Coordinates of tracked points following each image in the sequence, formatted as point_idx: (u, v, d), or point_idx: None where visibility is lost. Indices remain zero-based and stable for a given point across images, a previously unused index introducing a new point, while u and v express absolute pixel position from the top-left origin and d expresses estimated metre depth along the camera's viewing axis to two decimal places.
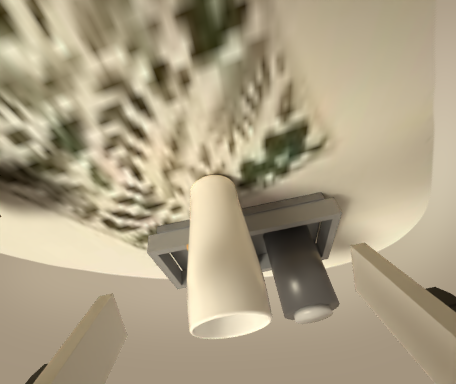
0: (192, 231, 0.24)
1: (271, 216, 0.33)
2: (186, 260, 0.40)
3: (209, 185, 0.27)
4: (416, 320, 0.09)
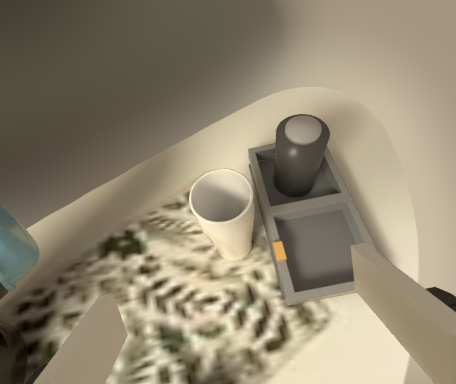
0: (216, 245, 0.32)
1: (259, 195, 0.41)
2: (344, 271, 0.34)
3: None
4: (416, 320, 0.09)
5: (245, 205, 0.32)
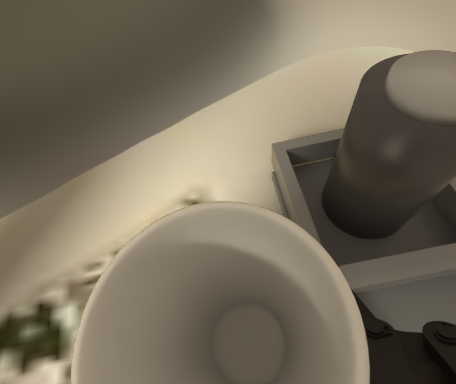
0: None
1: None
2: None
3: None
4: None
5: (287, 291, 0.12)
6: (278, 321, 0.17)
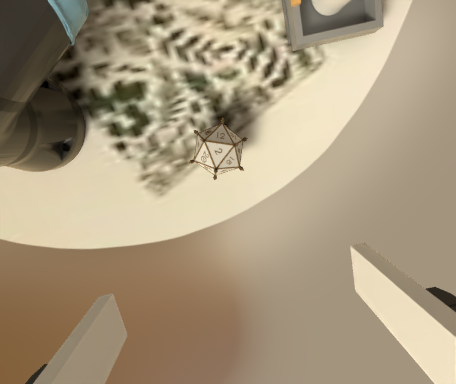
0: None
1: None
2: (345, 19, 0.39)
3: None
4: (416, 320, 0.09)
5: None
6: None
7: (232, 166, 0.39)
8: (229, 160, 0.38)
